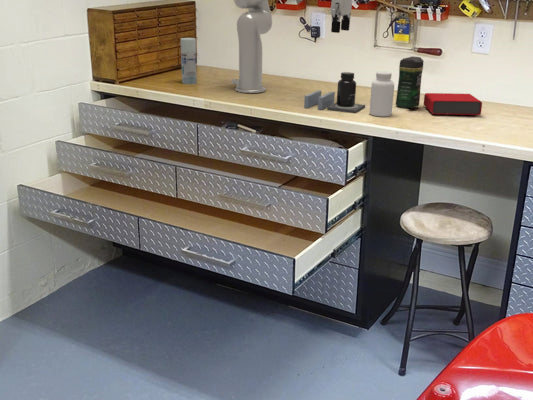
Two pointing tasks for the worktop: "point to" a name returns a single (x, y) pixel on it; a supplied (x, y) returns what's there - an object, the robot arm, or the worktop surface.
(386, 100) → the pill bottle
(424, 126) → the worktop surface
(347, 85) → the supplement bottle
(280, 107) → the worktop surface
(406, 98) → the coffee jar
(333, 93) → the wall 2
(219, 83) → the worktop surface
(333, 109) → the mat
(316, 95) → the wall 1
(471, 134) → the worktop surface
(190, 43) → the tall grey product box
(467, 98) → the red device housing
